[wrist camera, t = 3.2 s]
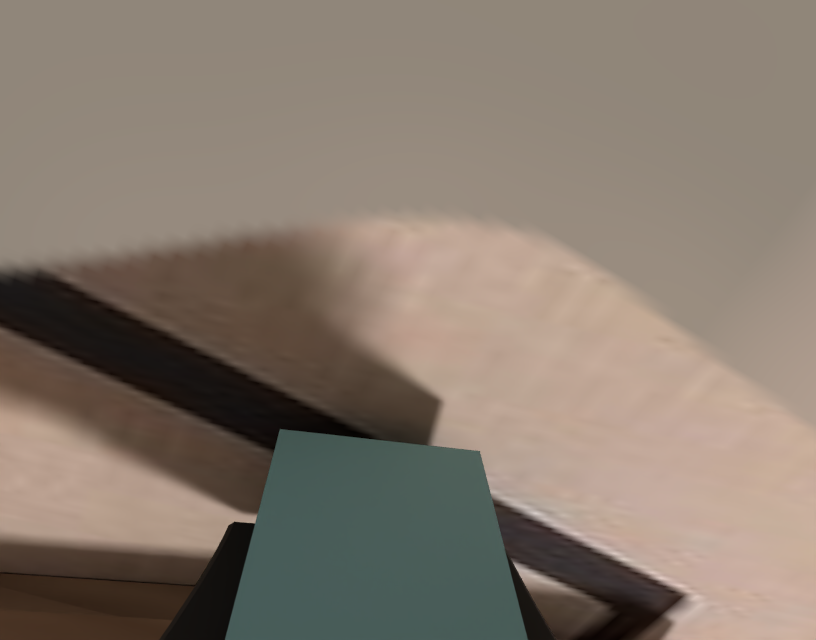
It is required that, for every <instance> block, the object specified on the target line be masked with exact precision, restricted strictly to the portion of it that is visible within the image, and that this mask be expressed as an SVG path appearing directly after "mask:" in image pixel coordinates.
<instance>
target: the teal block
mask: <svg viewBox="0 0 816 640" xmlns="http://www.w3.org/2000/svg"><path fill="white" fill-rule="evenodd" d="M225 640H528V639H527V635H526V631H525V627H524V623H523V619H522V615H521V611H520V607H519V603H518V599H517V596H516V592H515V588H514V584H513V580H512V576H511V572H510V568H509V564H508V560H507V556H506V552H505V549H504V545H503V541H502V537H501V533H500V529H499V525H498V521H497V517H496V513H495V509H494V505H493V502H492V498H491V494H490V490H489V486H488V482H487V478H486V474H485V470H484V466H483V462H482V458H481V455H480V451H473V450H464V449H455V448H446V447H437V446H428V445H419V444H410V443H401V442H392V441H383V440H374V439H365V438H356V437H347V436H338V435H329V434H320V433H311V432H302V431H293V430H284V429H280V431H279V435H278V438H277V442H276V446H275V450H274V454H273V458H272V461H271V465H270V469H269V473H268V477H267V481H266V484H265V488H264V492H263V496H262V500H261V504H260V507H259V511H258V515H257V519H256V523H255V527H254V530H253V534H252V538H251V542H250V546H249V550H248V553H247V557H246V561H245V565H244V569H243V572H242V576H241V580H240V584H239V588H238V592H237V595H236V599H235V603H234V607H233V611H232V615H231V618H230V622H229V626H228V630H227V634H226V638H225Z"/></svg>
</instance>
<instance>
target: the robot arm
mask: <svg viewBox="0 0 816 640" xmlns="http://www.w3.org/2000/svg"><path fill="white" fill-rule="evenodd" d="M254 527H255V524H253V523H241V522H234V523H232V524H230V525H229V526H228V528H227V530H226V532H225V534H224V536H223V538H222V540H221V542H220V544H219V546H218V548H217V550H216V552H215V553H214V555H213V557H212V559H211V560H210V562H209V564H208V566H207V567H206V569H205V571H204V572H203V574H202V575H201V577H200V579H199V580H198V582H197V584H196V585H195V587H194V588H193V590H192V592H191V593H190V595H189V596H188V598H187V599H186V601H185V602H184V604H183V605H182V607H181V608H180V610H179V611H178V613H177V614H176V616H175V617H174V619H173V620H172V622H171V623H170V625H169V626H168V628H167V629H166V630H165V632H164V633H163V635H162V636H161V638H160V639H159V640H225V638H226V634H227V630H228V626H229V622H230V618H231V615H232V611H233V607H234V603H235V599H236V595H237V592H238V588H239V584H240V580H241V576H242V572H243V569H244V565H245V561H246V557H247V553H248V550H249V546H250V542H251V538H252V534H253V530H254ZM504 549H505V548H504ZM505 552H506V556H507V560H508V564H509V568H510V572H511V576H512V580H513V584H514V588H515V592H516V596H517V599H518V603H519V607H520V611H521V615H522V619H523V623H524V627H525V631H526V635H527V639H528V640H556V638H555V637H554V635H553V633H552V632H551V630H550V628H549V627H548V625H547V623H546V622H545V620H544V618H543V616H542V615H541V613H540V611H539V609H538V608H537V606H536V604H535V602H534V601H533V599H532V597H531V595H530V593H529V592H528V590H527V588H526V586H525V584H524V583H523V581H522V579H521V577H520V575H519V573H518V571H517V570H516V568H515V566H514V564H513V562H512V560H511V558H510V556H509V555H508V553H507V551H506V549H505Z"/></svg>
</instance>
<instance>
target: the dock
mask: <svg viewBox="0 0 816 640" xmlns="http://www.w3.org/2000/svg"><path fill="white" fill-rule="evenodd" d="M194 587H195V586H182V585H167V584H152V583H137V582H123V581H108V580H93V579H78V578H63V577H48V576H34V575H19V574H4V573H0V640H159V639H160V638H161V636H162V635H163V633H164V632H165V630H166V629H167V628H168V626H169V625H170V623H171V622H172V620H173V619H174V617H175V616H176V614H177V613H178V611H179V610H180V608H181V607H182V605H183V604H184V602H185V601H186V599H187V598H188V596H189V595H190V593H191V592H192V590H193V588H194Z"/></svg>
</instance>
